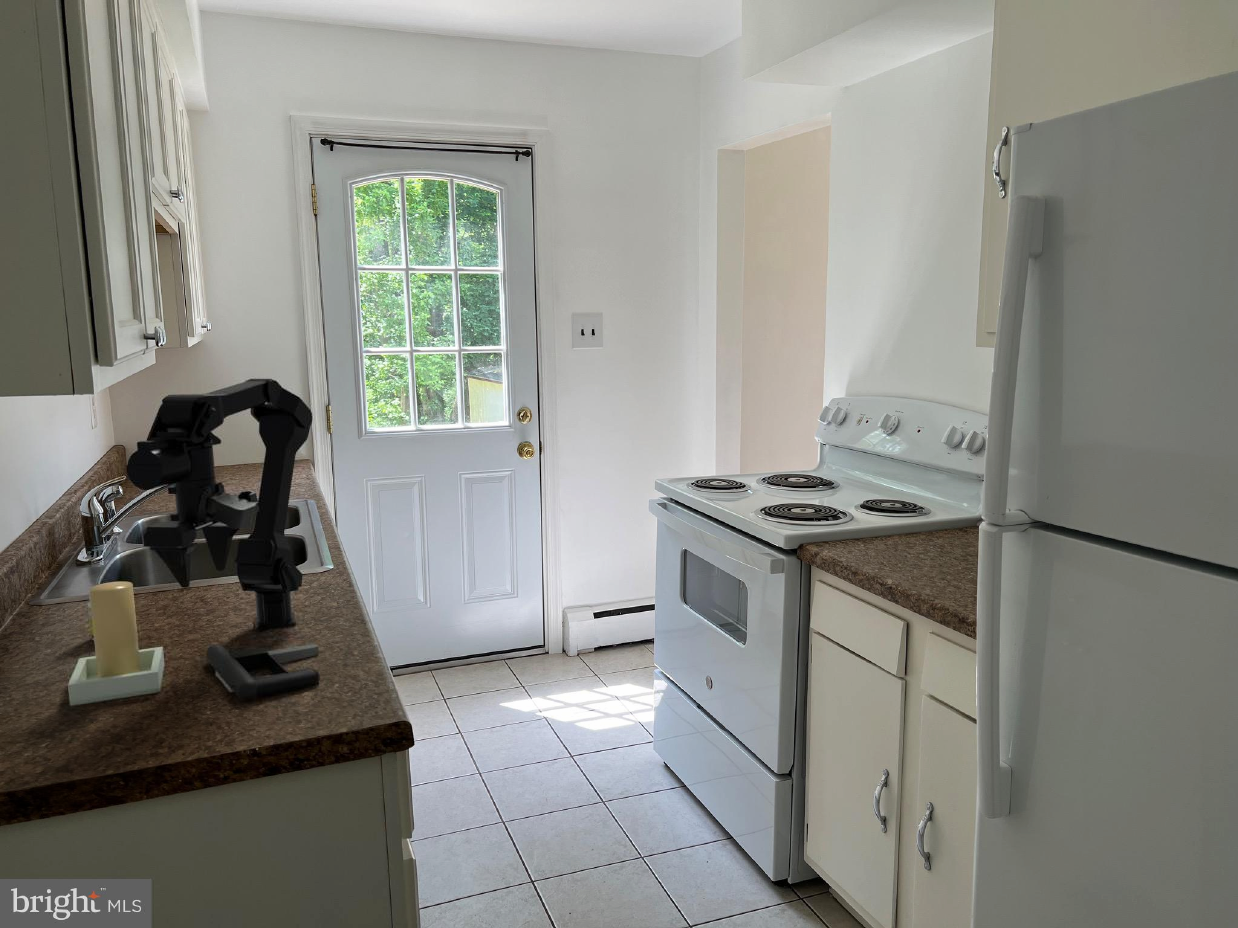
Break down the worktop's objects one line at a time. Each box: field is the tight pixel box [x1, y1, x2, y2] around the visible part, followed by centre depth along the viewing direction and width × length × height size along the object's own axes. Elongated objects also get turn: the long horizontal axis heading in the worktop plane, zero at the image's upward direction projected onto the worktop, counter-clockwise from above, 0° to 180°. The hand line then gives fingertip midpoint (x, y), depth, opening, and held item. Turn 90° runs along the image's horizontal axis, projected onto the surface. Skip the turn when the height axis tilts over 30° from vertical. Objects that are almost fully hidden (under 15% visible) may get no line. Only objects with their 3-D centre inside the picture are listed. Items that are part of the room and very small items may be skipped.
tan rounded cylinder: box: [88, 581, 141, 678], centre depth 129 cm, size 5×5×14 cm
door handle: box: [200, 643, 321, 702], centre depth 134 cm, size 3×20×16 cm
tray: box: [67, 646, 165, 707], centre depth 130 cm, size 11×11×3 cm
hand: (203, 578), depth 137 cm, fingers open, 9 cm apart
